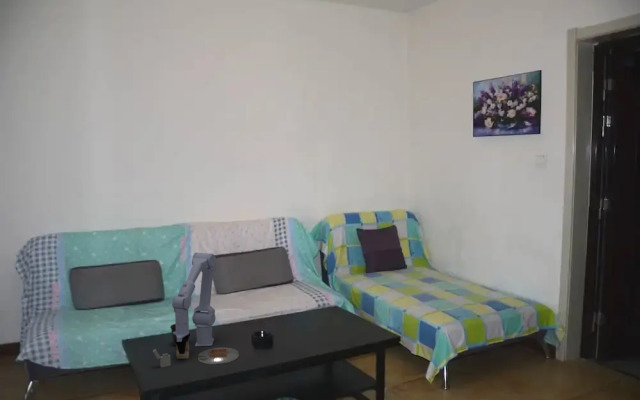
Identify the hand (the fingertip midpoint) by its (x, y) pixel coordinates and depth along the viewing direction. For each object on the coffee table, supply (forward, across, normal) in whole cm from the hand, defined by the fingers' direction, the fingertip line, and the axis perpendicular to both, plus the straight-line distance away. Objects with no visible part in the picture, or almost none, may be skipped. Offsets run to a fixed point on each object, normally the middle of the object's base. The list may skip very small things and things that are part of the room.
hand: (182, 351), depth 230 cm
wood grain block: (+2, 0, 0) cm, 2 cm away
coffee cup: (+3, -17, -5) cm, 18 cm away
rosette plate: (+2, +1, +16) cm, 16 cm away
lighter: (+3, +10, -7) cm, 12 cm away
